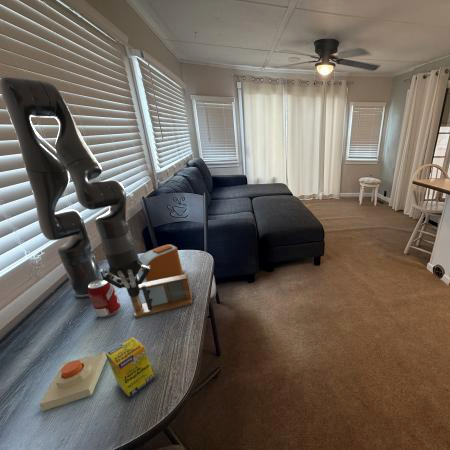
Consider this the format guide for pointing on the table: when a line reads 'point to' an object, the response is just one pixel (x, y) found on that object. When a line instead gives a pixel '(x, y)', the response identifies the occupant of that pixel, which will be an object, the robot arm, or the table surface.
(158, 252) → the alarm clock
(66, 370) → the button
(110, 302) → the soda can
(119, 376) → the supplement box
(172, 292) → the window frame
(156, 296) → the window pane
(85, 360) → the control plate
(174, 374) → the table surface
